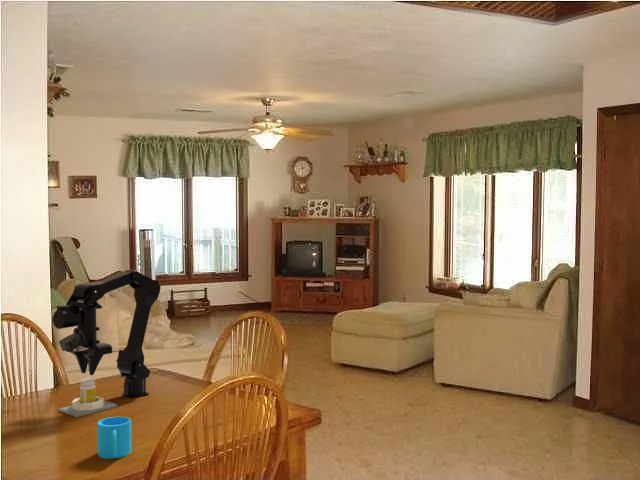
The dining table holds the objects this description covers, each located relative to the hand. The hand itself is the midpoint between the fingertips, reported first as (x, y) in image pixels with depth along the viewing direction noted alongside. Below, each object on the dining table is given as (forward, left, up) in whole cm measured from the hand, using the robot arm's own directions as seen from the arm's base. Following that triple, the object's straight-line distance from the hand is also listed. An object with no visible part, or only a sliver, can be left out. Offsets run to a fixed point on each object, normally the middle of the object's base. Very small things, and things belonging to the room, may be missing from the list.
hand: (87, 374), depth 213 cm
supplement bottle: (0, 0, -10) cm, 10 cm away
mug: (+19, +42, -11) cm, 47 cm away
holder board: (0, 0, -11) cm, 11 cm away
